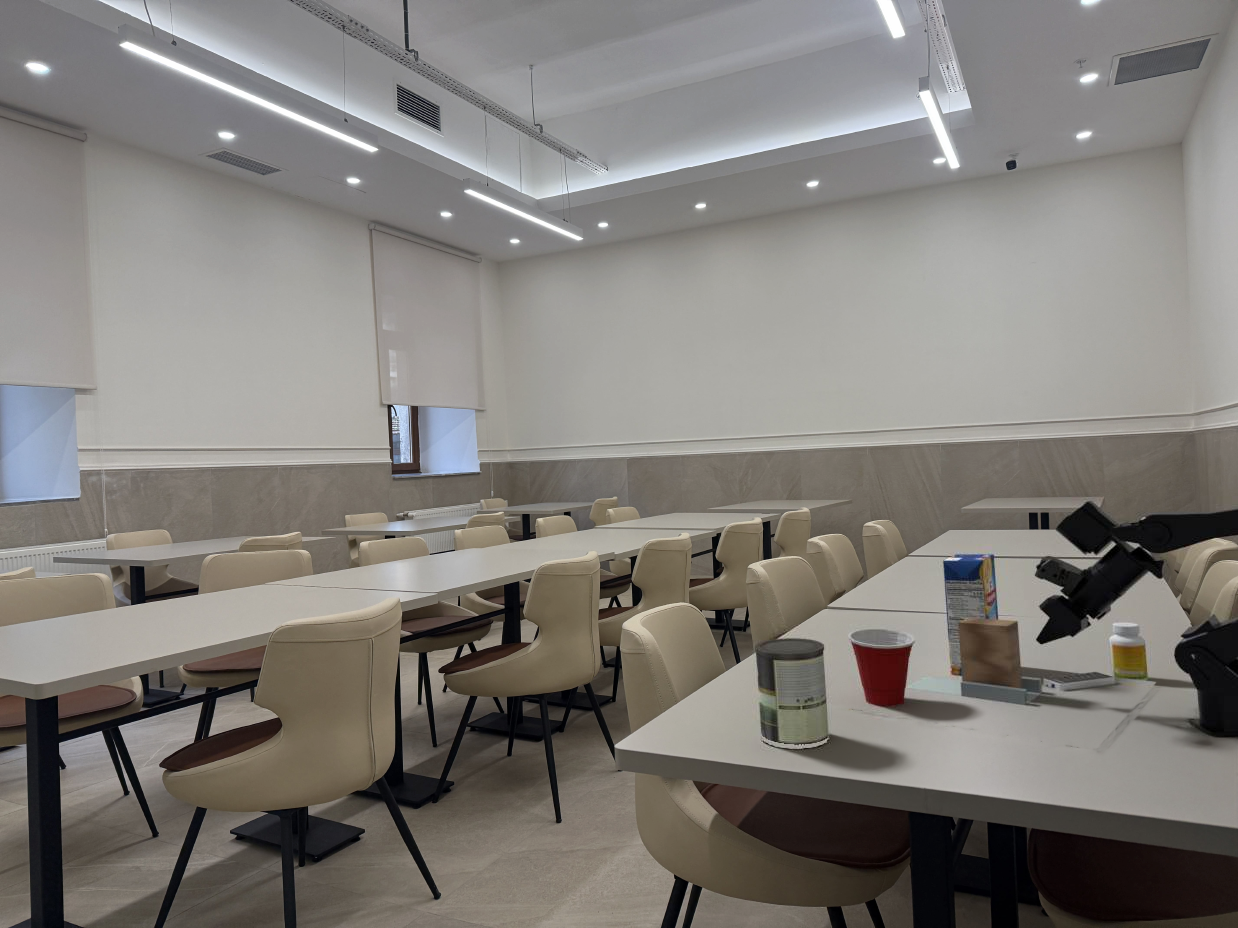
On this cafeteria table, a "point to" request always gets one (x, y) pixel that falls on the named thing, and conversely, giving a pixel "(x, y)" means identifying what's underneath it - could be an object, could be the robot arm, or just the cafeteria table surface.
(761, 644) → the coffee can
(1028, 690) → the chute
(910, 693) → the cafeteria table surface
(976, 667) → the block
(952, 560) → the beverage box
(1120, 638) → the supplement bottle
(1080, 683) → the multiport hub
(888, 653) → the plastic cup
